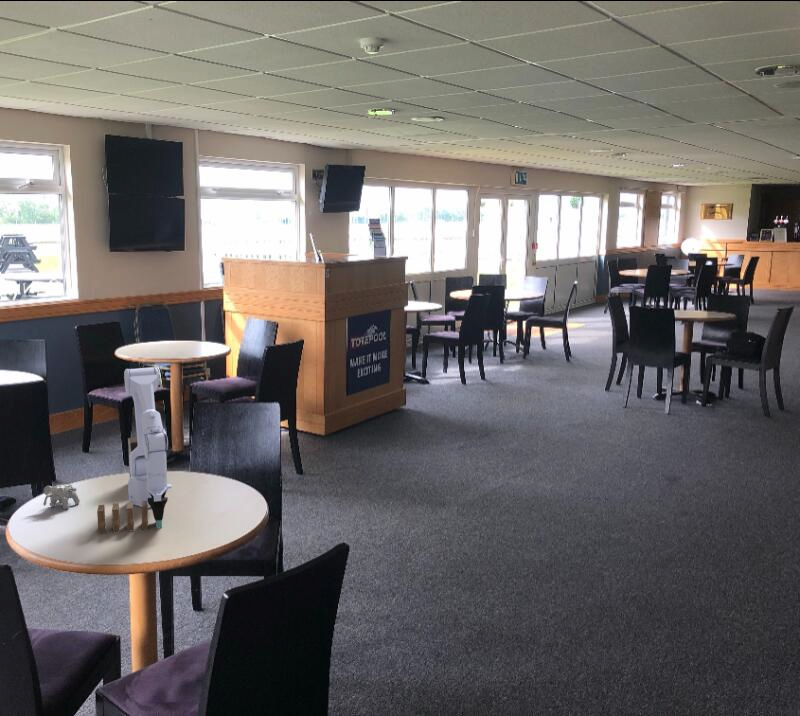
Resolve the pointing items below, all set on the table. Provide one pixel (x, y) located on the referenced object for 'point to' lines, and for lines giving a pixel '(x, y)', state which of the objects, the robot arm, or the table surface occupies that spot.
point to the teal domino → (158, 523)
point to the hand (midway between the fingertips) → (158, 515)
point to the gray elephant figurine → (61, 495)
